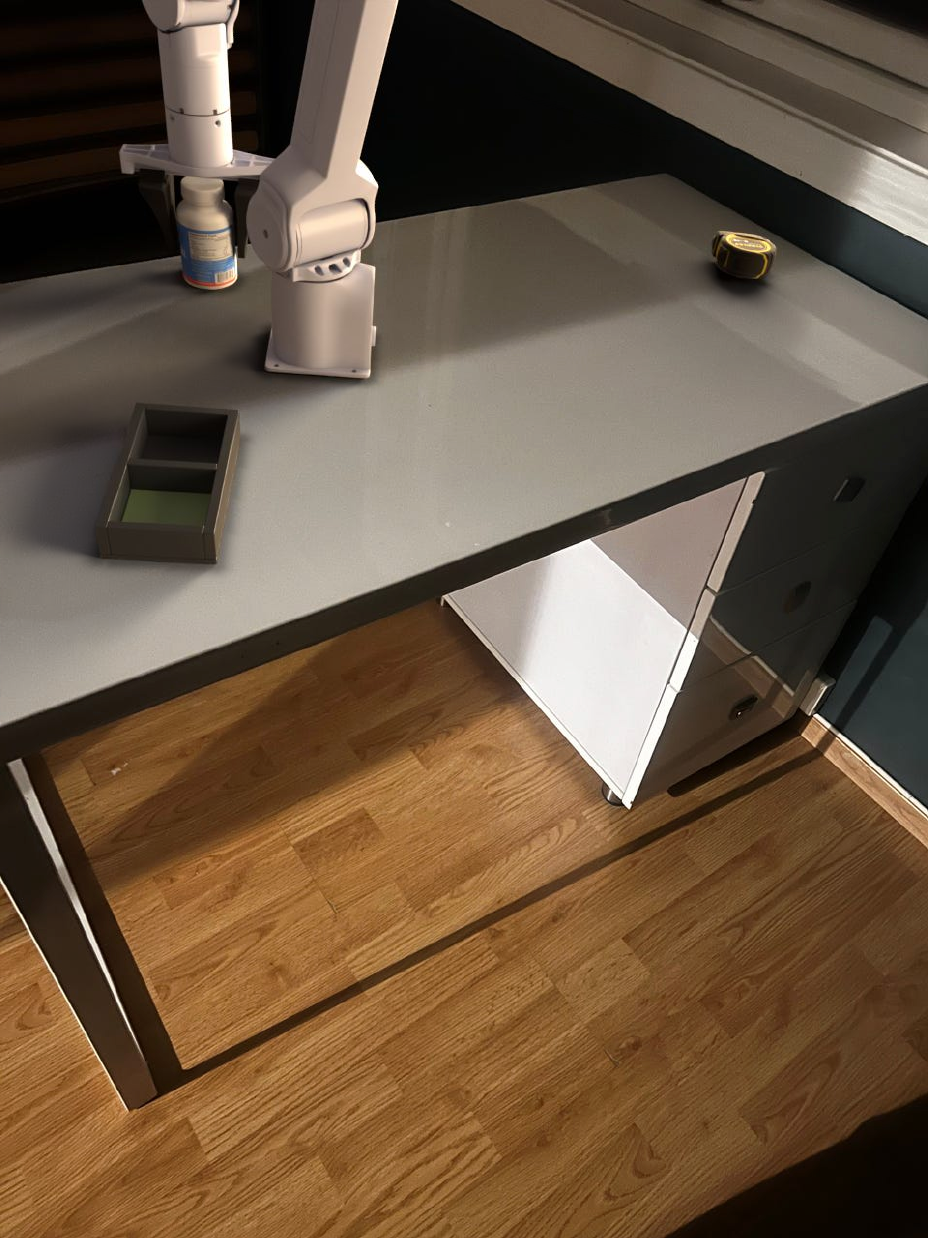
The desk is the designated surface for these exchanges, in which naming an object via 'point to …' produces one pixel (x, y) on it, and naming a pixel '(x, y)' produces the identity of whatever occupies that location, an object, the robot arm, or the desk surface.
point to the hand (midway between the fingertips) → (208, 250)
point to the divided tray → (170, 485)
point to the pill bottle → (206, 234)
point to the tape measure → (743, 254)
